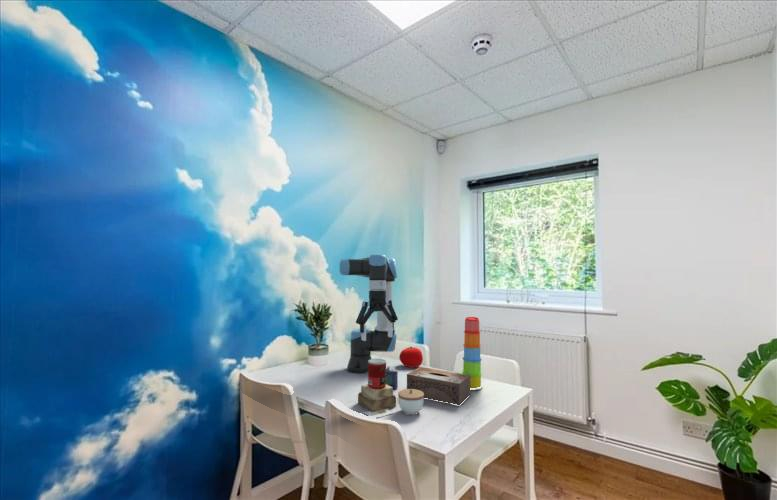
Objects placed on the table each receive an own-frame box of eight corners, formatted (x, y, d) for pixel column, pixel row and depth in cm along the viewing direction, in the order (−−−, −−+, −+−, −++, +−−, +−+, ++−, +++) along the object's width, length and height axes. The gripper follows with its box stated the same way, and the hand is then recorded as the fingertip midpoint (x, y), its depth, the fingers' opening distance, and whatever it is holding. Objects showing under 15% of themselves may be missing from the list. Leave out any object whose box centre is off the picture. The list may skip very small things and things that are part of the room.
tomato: (419, 370, 212) (419, 350, 212) (397, 368, 217) (397, 348, 217) (425, 365, 223) (425, 346, 224) (403, 362, 228) (403, 344, 229)
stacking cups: (486, 387, 185) (485, 317, 186) (475, 392, 177) (475, 319, 178) (468, 382, 192) (468, 315, 193) (457, 387, 184) (457, 317, 185)
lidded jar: (396, 407, 158) (396, 385, 159) (421, 406, 159) (421, 384, 159) (399, 417, 148) (399, 394, 148) (426, 417, 148) (426, 393, 149)
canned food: (383, 390, 156) (384, 363, 157) (365, 388, 158) (365, 362, 158) (387, 384, 164) (387, 359, 164) (370, 382, 165) (370, 358, 166)
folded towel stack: (381, 397, 169) (381, 380, 169) (396, 406, 159) (396, 387, 159) (357, 403, 162) (357, 384, 163) (372, 412, 152) (372, 393, 152)
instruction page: (384, 407, 157) (384, 407, 157) (393, 413, 152) (393, 412, 152) (363, 413, 152) (363, 412, 152) (372, 419, 146) (372, 418, 146)
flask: (398, 388, 182) (398, 366, 182) (396, 390, 179) (396, 368, 180) (380, 386, 185) (380, 364, 185) (378, 388, 182) (378, 366, 182)
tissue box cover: (406, 395, 173) (406, 374, 173) (420, 386, 185) (420, 366, 186) (459, 407, 160) (459, 383, 160) (470, 396, 172) (470, 375, 172)
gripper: (356, 291, 152) (356, 343, 152) (405, 289, 166) (405, 336, 165) (348, 290, 158) (347, 340, 158) (396, 288, 172) (395, 334, 172)
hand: (377, 338), depth 162 cm, fingers open, 13 cm apart
